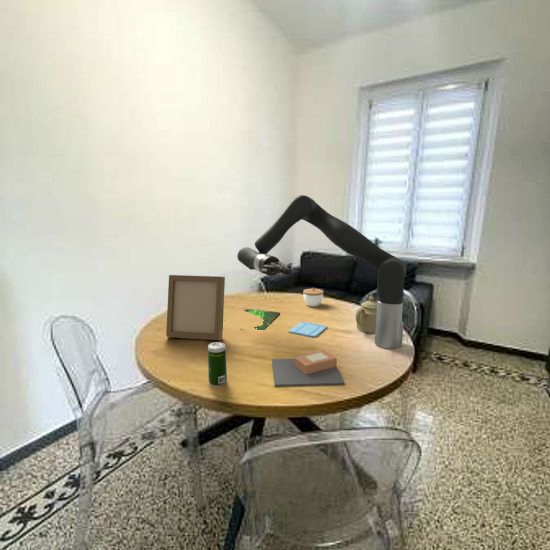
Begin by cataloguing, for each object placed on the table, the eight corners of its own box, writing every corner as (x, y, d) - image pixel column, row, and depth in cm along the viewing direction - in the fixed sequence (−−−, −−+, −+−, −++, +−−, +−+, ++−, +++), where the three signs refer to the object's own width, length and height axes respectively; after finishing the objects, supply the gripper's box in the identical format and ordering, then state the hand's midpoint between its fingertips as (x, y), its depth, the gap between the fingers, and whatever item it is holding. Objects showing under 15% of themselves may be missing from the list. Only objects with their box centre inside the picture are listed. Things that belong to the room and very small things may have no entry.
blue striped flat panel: (314, 339, 139) (314, 336, 138) (288, 333, 145) (288, 330, 144) (327, 328, 150) (327, 326, 150) (302, 324, 156) (302, 321, 156)
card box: (294, 365, 114) (324, 358, 119) (305, 374, 108) (336, 366, 113) (294, 356, 113) (324, 349, 118) (305, 365, 107) (336, 357, 112)
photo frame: (219, 342, 134) (217, 279, 129) (166, 339, 137) (162, 277, 132) (229, 329, 148) (228, 272, 143) (181, 326, 151) (178, 270, 146)
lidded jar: (312, 301, 191) (313, 284, 189) (327, 305, 183) (328, 288, 181) (298, 304, 184) (299, 287, 182) (313, 309, 176) (313, 291, 174)
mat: (332, 359, 120) (332, 357, 120) (344, 384, 103) (344, 382, 103) (271, 360, 118) (271, 359, 118) (274, 386, 102) (274, 384, 102)
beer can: (230, 382, 104) (229, 345, 102) (216, 389, 100) (214, 351, 98) (219, 376, 108) (218, 340, 105) (205, 382, 104) (203, 345, 101)
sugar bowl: (381, 338, 139) (384, 302, 135) (354, 334, 142) (355, 299, 139) (383, 326, 152) (385, 293, 149) (357, 323, 156) (359, 291, 153)
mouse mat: (263, 333, 144) (263, 331, 144) (215, 327, 150) (215, 325, 150) (281, 313, 170) (281, 311, 170) (239, 309, 176) (239, 307, 176)
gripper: (251, 256, 129) (272, 263, 114) (281, 253, 135) (306, 260, 120) (251, 275, 130) (272, 285, 115) (281, 272, 137) (305, 281, 122)
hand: (289, 272), depth 118 cm, fingers closed
